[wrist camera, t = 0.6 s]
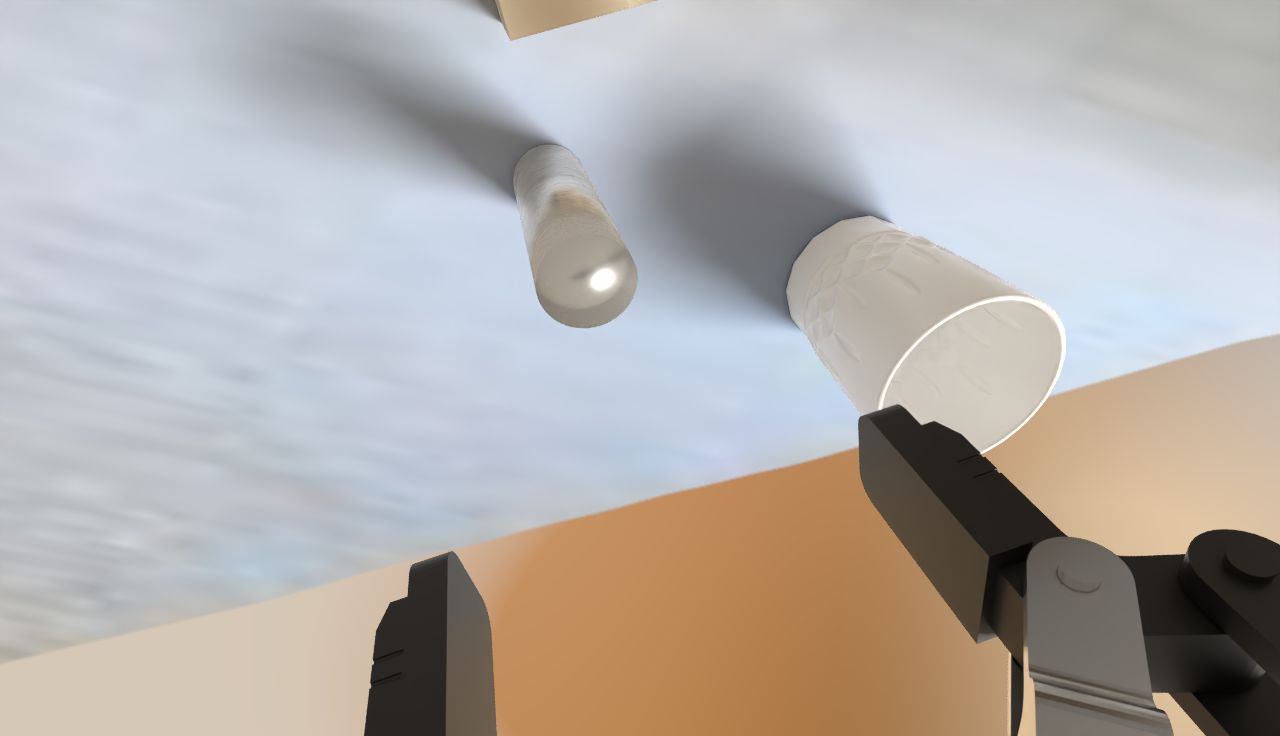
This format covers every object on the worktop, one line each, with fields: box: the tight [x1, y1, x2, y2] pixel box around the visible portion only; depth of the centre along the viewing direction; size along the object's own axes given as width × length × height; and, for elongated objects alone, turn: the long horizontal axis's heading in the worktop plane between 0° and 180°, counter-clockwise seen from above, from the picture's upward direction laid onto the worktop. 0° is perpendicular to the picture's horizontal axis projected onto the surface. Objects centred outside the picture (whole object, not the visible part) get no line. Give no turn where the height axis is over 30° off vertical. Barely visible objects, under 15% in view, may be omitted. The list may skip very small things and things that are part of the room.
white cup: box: [786, 216, 1066, 454], centre depth 29 cm, size 8×8×10 cm
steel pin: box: [513, 144, 637, 328], centre depth 23 cm, size 3×3×10 cm
